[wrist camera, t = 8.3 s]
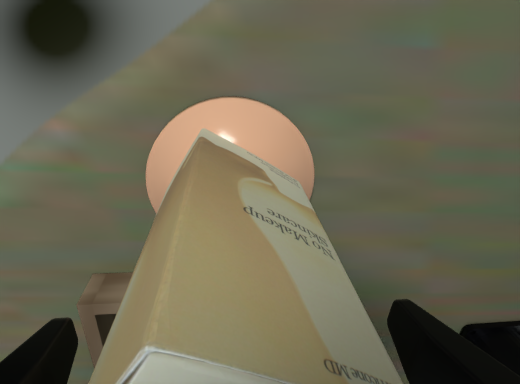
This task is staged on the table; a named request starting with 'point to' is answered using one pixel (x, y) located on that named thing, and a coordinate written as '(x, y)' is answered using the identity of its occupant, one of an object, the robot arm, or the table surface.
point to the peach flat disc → (234, 130)
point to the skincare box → (239, 286)
